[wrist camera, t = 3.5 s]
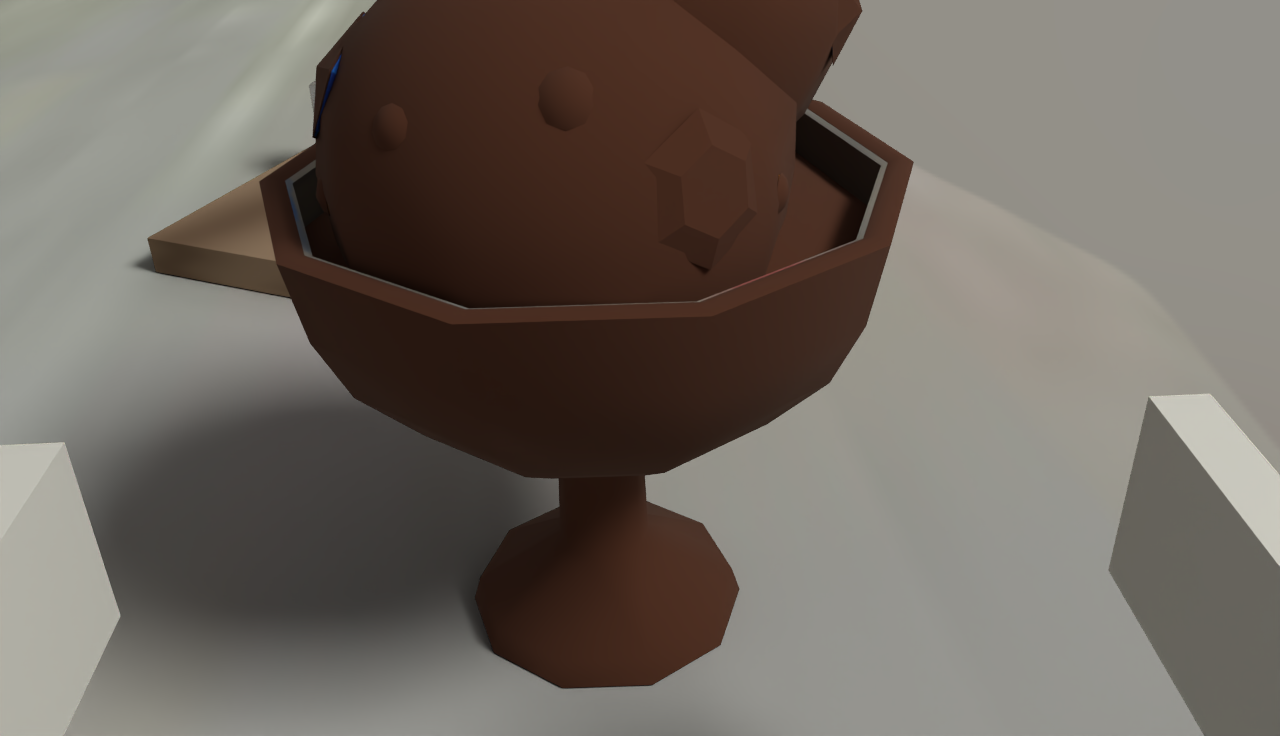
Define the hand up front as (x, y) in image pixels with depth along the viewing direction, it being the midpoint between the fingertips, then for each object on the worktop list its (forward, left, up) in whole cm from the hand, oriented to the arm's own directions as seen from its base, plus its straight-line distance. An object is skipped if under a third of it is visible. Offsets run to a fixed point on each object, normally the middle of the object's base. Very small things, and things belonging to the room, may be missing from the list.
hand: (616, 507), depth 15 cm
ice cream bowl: (-3, +7, -8) cm, 11 cm away
